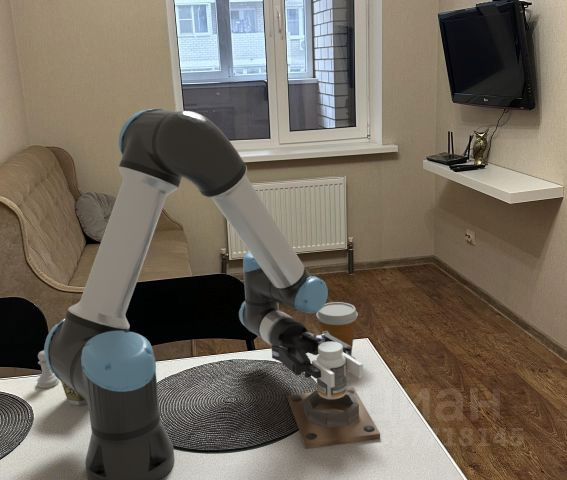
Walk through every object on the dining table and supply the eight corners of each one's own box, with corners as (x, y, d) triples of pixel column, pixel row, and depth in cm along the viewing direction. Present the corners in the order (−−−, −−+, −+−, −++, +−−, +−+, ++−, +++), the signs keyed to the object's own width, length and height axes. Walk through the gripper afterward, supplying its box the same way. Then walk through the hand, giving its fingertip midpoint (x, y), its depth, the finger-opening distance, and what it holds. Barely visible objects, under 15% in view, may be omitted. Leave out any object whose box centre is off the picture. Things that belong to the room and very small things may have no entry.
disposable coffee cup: (363, 362, 150) (363, 313, 147) (323, 368, 148) (322, 318, 145) (350, 345, 159) (350, 299, 156) (313, 350, 157) (311, 304, 154)
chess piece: (32, 387, 144) (27, 354, 142) (45, 377, 149) (40, 345, 147) (50, 389, 143) (45, 356, 141) (63, 379, 147) (58, 347, 145)
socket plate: (305, 448, 118) (305, 431, 117) (287, 399, 135) (287, 384, 134) (380, 438, 120) (380, 421, 119) (353, 391, 137) (353, 376, 136)
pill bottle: (346, 386, 129) (345, 339, 126) (346, 401, 123) (345, 353, 120) (318, 385, 129) (316, 339, 126) (316, 400, 124) (314, 353, 121)
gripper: (321, 338, 145) (387, 380, 126) (246, 360, 136) (304, 408, 117) (320, 307, 143) (387, 344, 123) (244, 327, 134) (303, 370, 115)
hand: (346, 375), depth 120 cm, fingers closed on pill bottle, 6 cm apart
